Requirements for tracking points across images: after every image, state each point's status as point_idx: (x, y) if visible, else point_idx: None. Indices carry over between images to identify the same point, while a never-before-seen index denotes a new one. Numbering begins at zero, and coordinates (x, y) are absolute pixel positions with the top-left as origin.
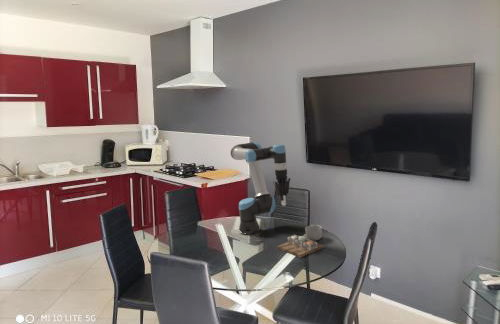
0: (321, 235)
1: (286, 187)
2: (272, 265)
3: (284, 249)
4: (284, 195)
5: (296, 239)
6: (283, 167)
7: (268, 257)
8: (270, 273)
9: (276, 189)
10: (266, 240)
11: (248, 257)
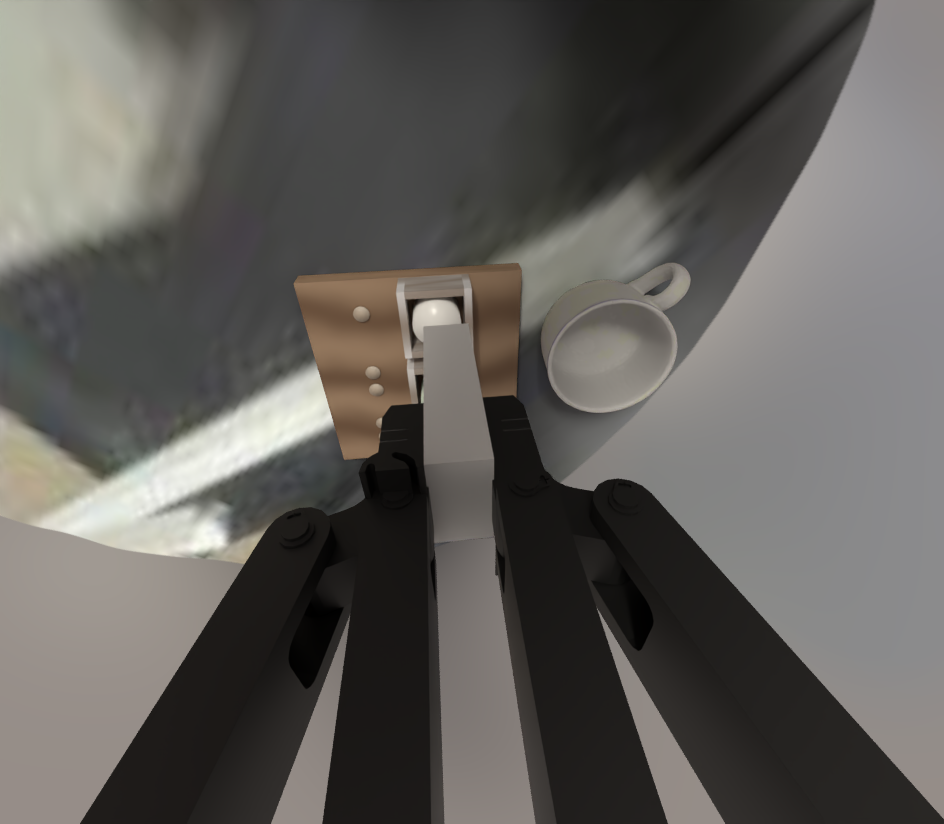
0: (604, 381)
1: (694, 719)
2: (173, 431)
3: (314, 349)
4: (474, 531)
5: (418, 370)
6: None
7: (182, 343)
8: (138, 481)
9: (132, 798)
10: (291, 14)
11: (24, 246)
